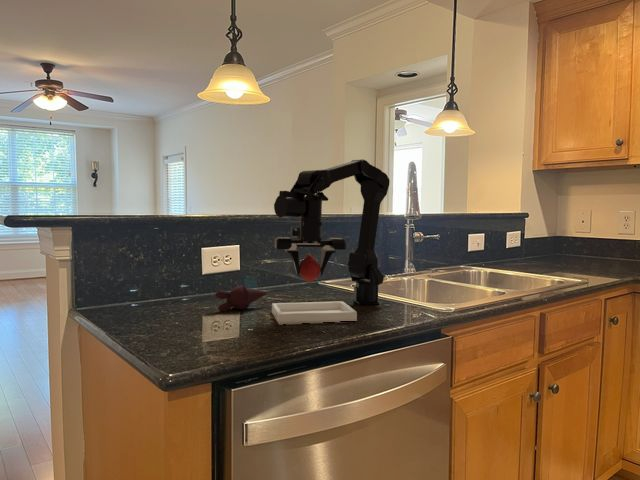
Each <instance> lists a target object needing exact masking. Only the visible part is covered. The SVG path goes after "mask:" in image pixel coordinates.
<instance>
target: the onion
mask: <svg viewBox="0 0 640 480" xmlns="http://www.w3.org/2000/svg"><path fill="white" fill-rule="evenodd" d="M299 276H301V278H302V279H303V280H305V281H306V283H308V284H311V283H312V282H313V281H315V280H316V279H318V277H319V276H320V263H319V261H318V260H317V259H316V258H315V257H314V256H312V254H311V253H308V252H307V256H306V257H305V258H303V259H302V261H301V262H299Z"/></svg>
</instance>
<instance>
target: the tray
mask: <svg viewBox="0 0 640 480" xmlns="http://www.w3.org/2000/svg"><path fill="white" fill-rule="evenodd" d="M271 313H272V315H273V317H274V319H275V320H276V322H277V323H278V325H280V326H282V325H283V324H286V325H303V324H302V323H310V324H324V323H323V322H335V323H341V322H340V321H358V320H357V319H358V318H357V317H358V312H357V311H356V309H354V308H352V307H351V306H350V305H348V304H347V303H346V302H344V301H343V300H342V301H341V300H340V301H338V300H337V301H312V302H311V301H310V302H305V301H304V302H277V303H275V302H274V303H273V302H272V303H271Z"/></svg>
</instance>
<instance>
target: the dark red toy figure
mask: <svg viewBox="0 0 640 480" xmlns="http://www.w3.org/2000/svg"><path fill="white" fill-rule="evenodd" d="M265 295H268V292H267V291H264V290H258V289H253V288H247V287H246V286H245V285H243V284H241V285H238V286H236V287H234V288H233V289H231V290H230V291H227V290H224V289H222V290H217V291H216V292H215V297H216V298H217V299H221V300H225V299H226V300H225V301H226V302H223V303H222V304H220V305H218V307H217V309H218V311H219V312H226V311H228V310H230V309H232V308H233V309H236V310H244V309H245V310H247V309H248V308H249V306H250V305H251V304H252V303H254V302H256V301H257V300H260V299H261V298H262V297H264V296H265Z"/></svg>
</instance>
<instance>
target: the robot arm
mask: <svg viewBox="0 0 640 480" xmlns="http://www.w3.org/2000/svg"><path fill="white" fill-rule="evenodd" d="M351 177H354V179H355V182H357V184H359V185H360V194H361V196H362V199H363V206H362V213H361V221H360V228H359V236H358V244H357V248H355V250H354V252H349V254H348V262H347V266H348V273H349V274H350V275H349V276H350V278H351V281H352V282H355V286H354V287H353V301H354V302H355V303H357V304H358V305H360V304H364V305H380V304H381V302H380V301H379V285H383V282H384V279H385V277H384V275H383V273H382V272H381V271H380V269H379V268H378V267H379V266H378V263H379V262H378V261H379V260H378V257H377V254H376V252H375V246H376V238H377V231H378V222H379V216H380V209H381V203H382V202H383V200H384V199H385V198H386V197H387V195H388V191H389V187H390V181H391V180H390V178H389V177H388V175H387V173H385V172H383V171H382V169H380V168H378V167H376V166H374V165H372V164H370V162H368V160H366V159H363V158H362V159H352V160H351V161H348V162H345V163H342V164H339V165H335V166H332V167H328V168H325V169H317V170H315V169H313V170H302V171H300V172H299V174H298V176H297V180H296V181H295V182H294V184H293V186H292V187H291V188H290V191H289V190H280V191H278V193H279V194H278V196H277V197H276V199H275V201H274V203H273V209H274V214H275V216H277V217H278V218H299V226H298V225H291V227H290V237H288V236H287V237H284V236H283V237H282V236H281V237H280V236H278V237H277V236H276V238H274V248H275V249H276V250H284V251H285V252H286V253H289V255H290V258H291V259H292V262H293V266H294V269H295V273H296V276H300V273H299V266H300V261H299V258H300V257H299V256H300V255H299V250H297V248H306V247H307V248H312V247H313V248H321V249H320V252H321V255H320V256H321V257H320V263H319V265H320V274H319V276H320V277H321V276H323V274H324V271H325V269H326V267H327V264H328V262H329V260H330V258H331V256H332V255H333V254H336V253H337V250H339V251H340V250H347V240H345V239H344V238H342V237H328V238H327V240H326V239H325V240H322V225H323V224H322V223H323V222H322V215H323V214H322V212H323V210H322V209H323V206H322V205H323V201H324V202H326V201H327V202H328V201H329V198H328V197H327V196H326V195H325V194H324V192H323V191H325V190H326V189H328V188H329V187H331V185H332V184H333V183H336V182H338V181H343V180H345V179H348V178H351ZM379 303H380V304H379Z"/></svg>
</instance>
